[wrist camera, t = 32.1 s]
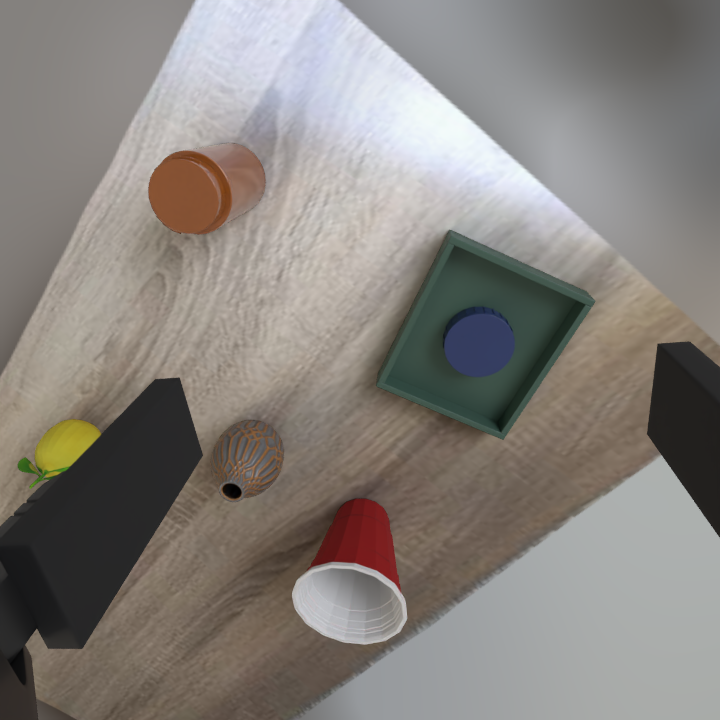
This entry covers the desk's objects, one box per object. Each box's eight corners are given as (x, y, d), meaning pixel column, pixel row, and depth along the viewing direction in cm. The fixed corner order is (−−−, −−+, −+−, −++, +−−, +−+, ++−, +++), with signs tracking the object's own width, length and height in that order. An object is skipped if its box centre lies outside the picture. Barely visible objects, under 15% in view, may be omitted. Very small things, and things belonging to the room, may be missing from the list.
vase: (228, 403, 54) (196, 453, 47) (294, 417, 54) (273, 470, 46) (223, 457, 57) (192, 512, 50) (285, 470, 57) (264, 528, 49)
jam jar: (209, 131, 43) (150, 138, 34) (274, 159, 44) (233, 172, 34) (194, 197, 46) (135, 220, 36) (255, 222, 46) (212, 252, 37)
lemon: (129, 423, 57) (74, 482, 48) (112, 460, 59) (57, 523, 50) (71, 392, 56) (4, 446, 47) (55, 431, 58) (-11, 490, 49)
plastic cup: (293, 508, 60) (266, 597, 49) (368, 463, 56) (356, 548, 45) (354, 568, 63) (341, 664, 52) (429, 529, 59) (431, 623, 48)
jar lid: (474, 380, 50) (476, 390, 48) (428, 337, 49) (428, 346, 47) (526, 338, 48) (530, 346, 46) (479, 291, 46) (482, 298, 45)
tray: (449, 229, 45) (451, 235, 42) (587, 291, 46) (596, 301, 44) (377, 374, 51) (375, 386, 49) (499, 425, 52) (503, 440, 50)
